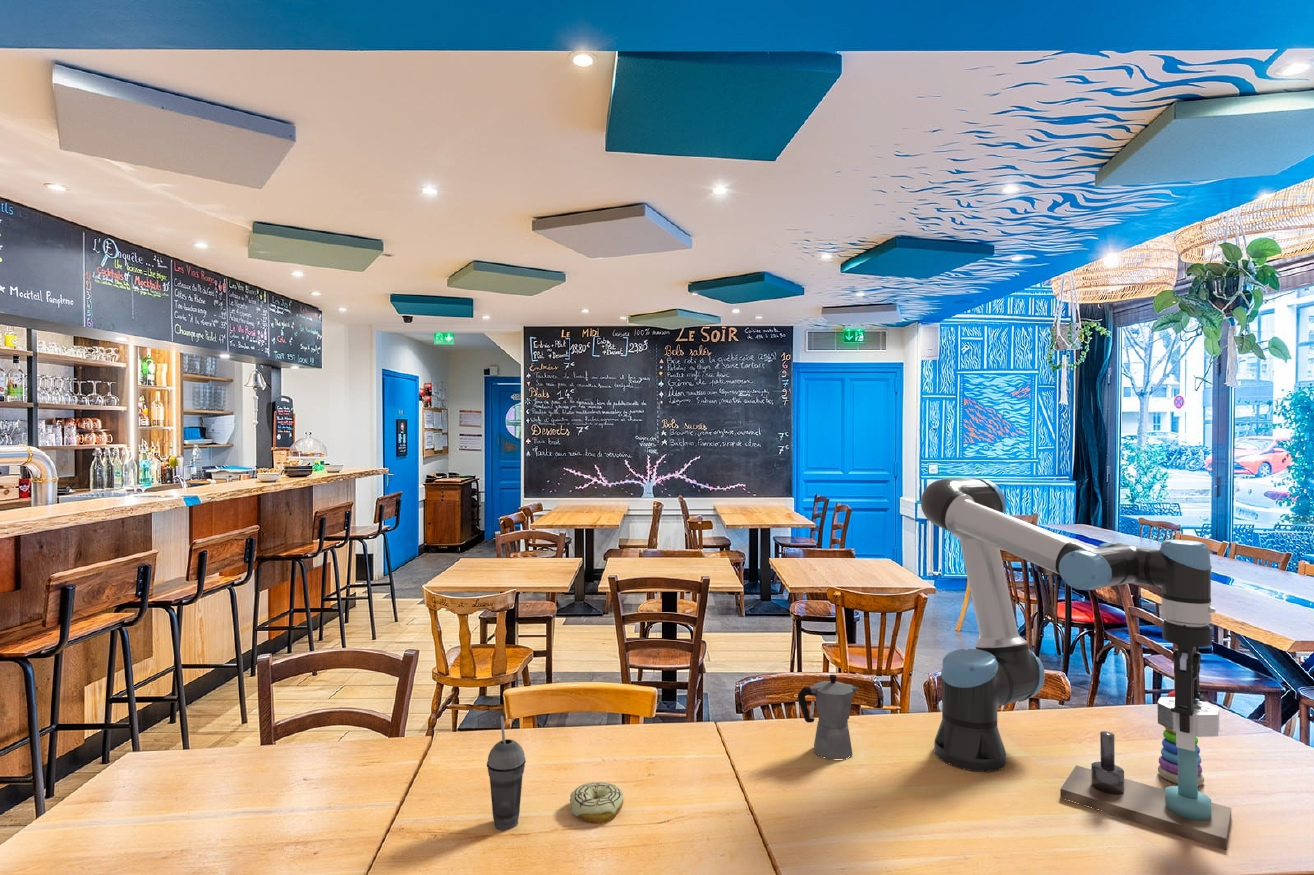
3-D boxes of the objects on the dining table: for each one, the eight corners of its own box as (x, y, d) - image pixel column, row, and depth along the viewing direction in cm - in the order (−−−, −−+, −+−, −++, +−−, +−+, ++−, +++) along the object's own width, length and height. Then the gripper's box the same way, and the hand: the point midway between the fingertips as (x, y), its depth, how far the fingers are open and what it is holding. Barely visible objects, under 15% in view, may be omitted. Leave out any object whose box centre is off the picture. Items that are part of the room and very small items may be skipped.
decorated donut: (568, 827, 129) (568, 807, 129) (571, 798, 140) (571, 779, 140) (623, 825, 130) (623, 805, 130) (622, 796, 141) (622, 777, 141)
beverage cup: (506, 838, 125) (506, 728, 125) (478, 827, 129) (478, 720, 129) (533, 820, 131) (533, 715, 131) (505, 809, 135) (506, 707, 135)
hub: (1162, 811, 131) (1162, 740, 131) (1167, 797, 136) (1167, 729, 136) (1209, 825, 126) (1209, 751, 126) (1213, 810, 131) (1212, 739, 131)
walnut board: (1060, 798, 139) (1060, 788, 139) (1076, 774, 150) (1076, 765, 150) (1226, 850, 122) (1226, 838, 122) (1231, 818, 132) (1231, 808, 132)
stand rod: (1088, 788, 140) (1088, 734, 140) (1094, 778, 144) (1094, 725, 144) (1121, 797, 136) (1121, 742, 136) (1126, 787, 140) (1126, 733, 140)
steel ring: (1155, 727, 131) (1155, 706, 131) (1162, 713, 137) (1161, 693, 137) (1216, 741, 125) (1216, 718, 125) (1220, 726, 131) (1220, 705, 131)
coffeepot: (848, 740, 167) (848, 666, 167) (869, 758, 157) (868, 679, 158) (789, 746, 163) (789, 671, 163) (806, 764, 154) (806, 684, 154)
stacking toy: (1212, 790, 143) (1211, 699, 143) (1169, 786, 145) (1168, 697, 145) (1191, 772, 151) (1190, 686, 151) (1150, 768, 152) (1149, 684, 153)
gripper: (1206, 637, 121) (1208, 765, 120) (1216, 615, 137) (1218, 728, 136) (1154, 629, 126) (1156, 753, 125) (1169, 609, 142) (1171, 718, 141)
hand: (1188, 740), depth 131 cm, fingers closed on steel ring, 9 cm apart
